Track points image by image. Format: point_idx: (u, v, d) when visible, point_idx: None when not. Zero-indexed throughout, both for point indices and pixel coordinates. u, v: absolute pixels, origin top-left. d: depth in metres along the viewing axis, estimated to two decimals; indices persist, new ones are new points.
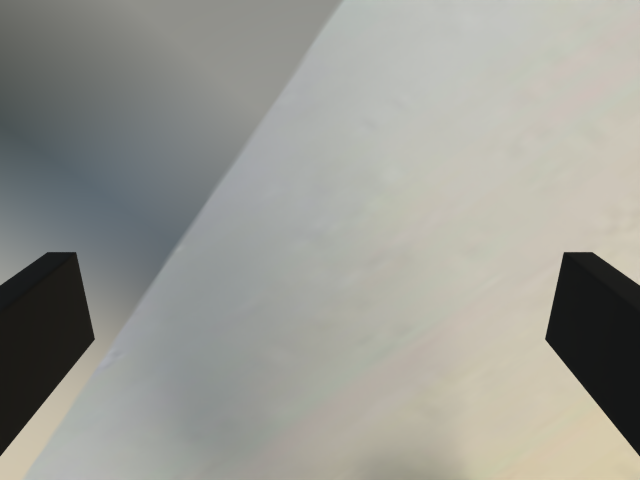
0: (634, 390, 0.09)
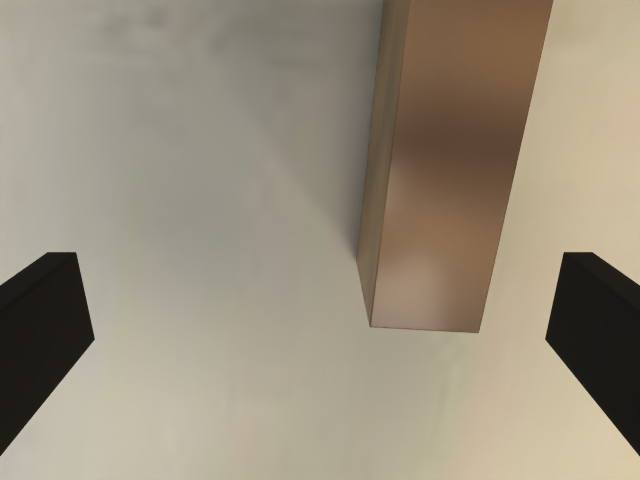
0: (634, 390, 0.09)
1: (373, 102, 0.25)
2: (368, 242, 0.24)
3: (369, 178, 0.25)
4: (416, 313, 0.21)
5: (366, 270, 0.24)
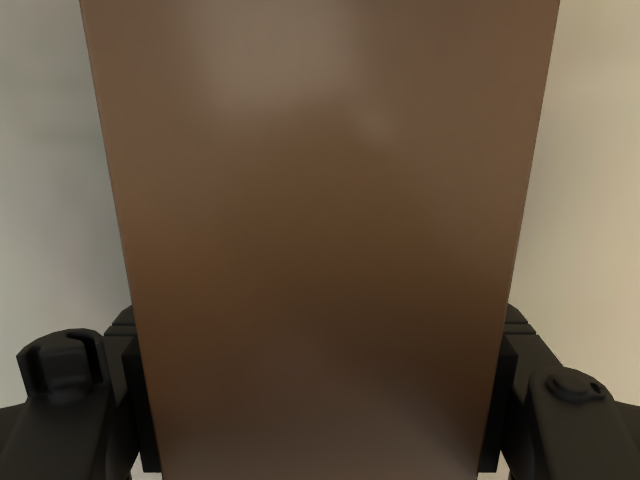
0: None
1: None
2: None
3: None
4: None
5: None
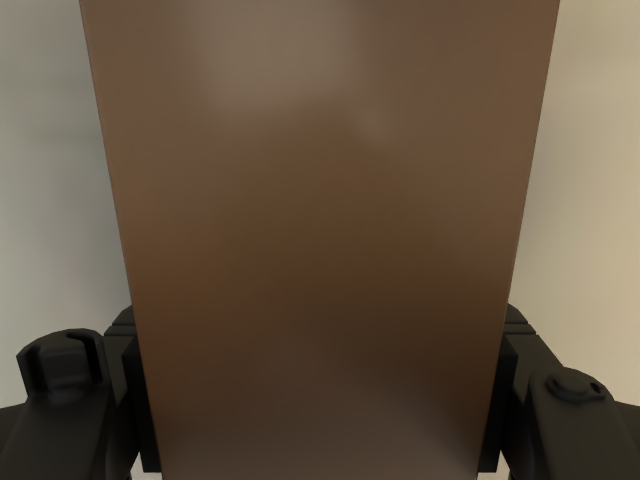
0: None
1: None
2: None
3: None
4: None
5: None
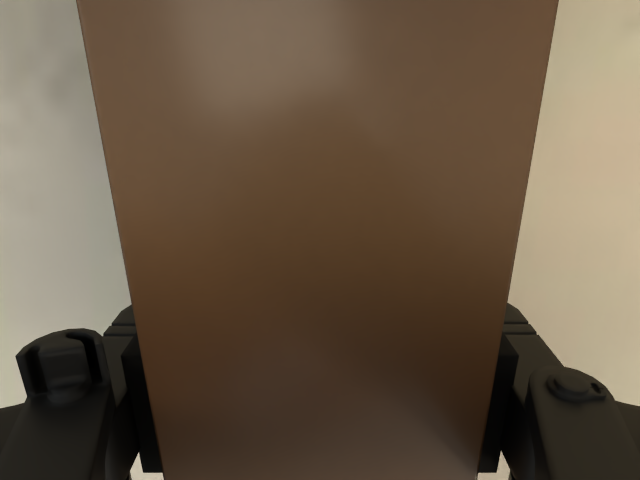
0: None
1: None
2: None
3: None
4: None
5: None
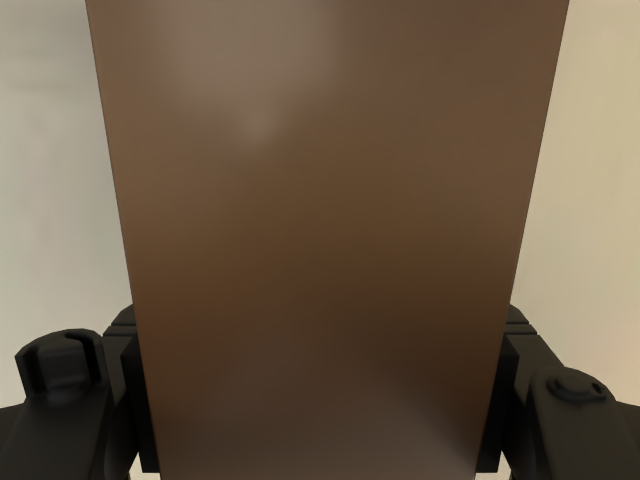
0: None
1: None
2: None
3: None
4: None
5: None
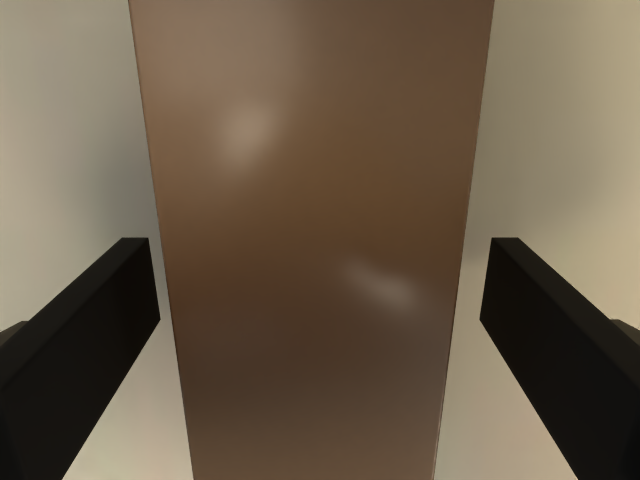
0: (536, 358, 0.10)
1: None
2: None
3: None
4: None
5: None
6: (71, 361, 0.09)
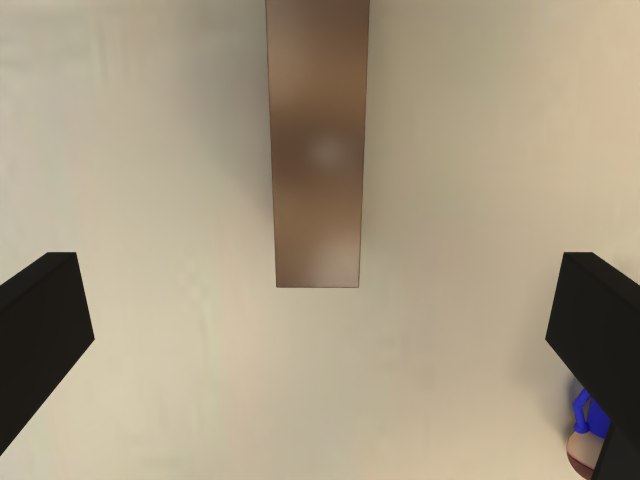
0: (634, 390, 0.09)
1: None
2: None
3: None
4: (309, 275, 0.29)
5: None
6: None
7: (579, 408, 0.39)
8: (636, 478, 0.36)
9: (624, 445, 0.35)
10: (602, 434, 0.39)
